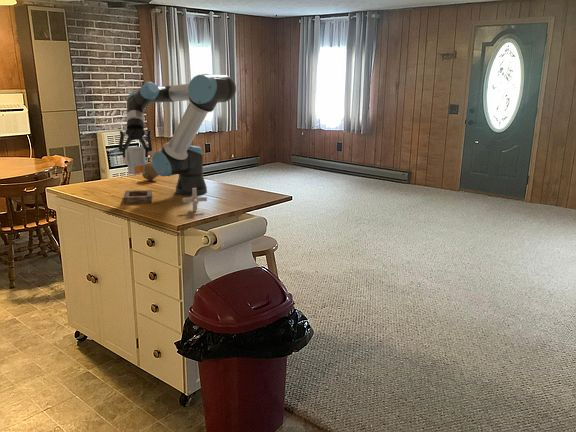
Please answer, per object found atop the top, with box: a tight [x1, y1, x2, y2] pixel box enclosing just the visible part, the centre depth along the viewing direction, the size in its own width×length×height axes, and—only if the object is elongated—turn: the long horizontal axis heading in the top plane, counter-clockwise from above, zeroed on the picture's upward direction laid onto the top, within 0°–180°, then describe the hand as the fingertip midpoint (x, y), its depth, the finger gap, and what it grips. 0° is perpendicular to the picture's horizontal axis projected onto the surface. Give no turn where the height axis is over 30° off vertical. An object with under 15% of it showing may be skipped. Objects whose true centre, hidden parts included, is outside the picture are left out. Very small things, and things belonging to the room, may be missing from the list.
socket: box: [122, 189, 153, 205], centre depth 231 cm, size 12×14×3 cm
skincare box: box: [127, 145, 144, 176], centre depth 226 cm, size 6×4×12 cm
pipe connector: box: [182, 188, 208, 212], centre depth 213 cm, size 10×10×10 cm
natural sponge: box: [141, 161, 160, 181], centre depth 272 cm, size 9×9×10 cm
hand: (135, 162), depth 223 cm, fingers closed on skincare box, 7 cm apart
